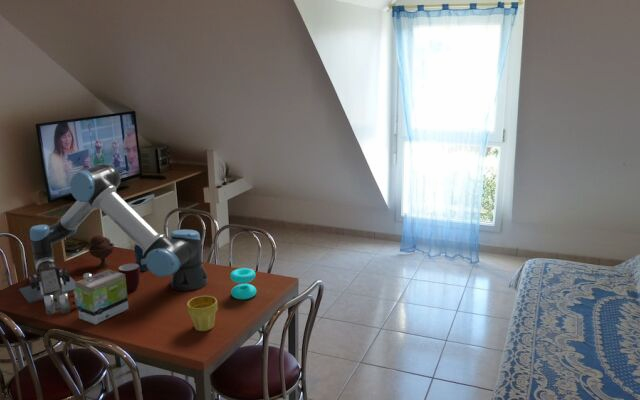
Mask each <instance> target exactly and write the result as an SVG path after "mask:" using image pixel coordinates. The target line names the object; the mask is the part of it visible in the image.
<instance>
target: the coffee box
mask: <svg viewBox="0 0 640 400" xmlns="http://www.w3.org/2000/svg"><path fill="white" fill-rule="evenodd" d="M38 266H39V272H40V278H41V283H42V287H43V292H44V294H43V296H44V295H46V294H53V298H54V305H55V310H57V309H60V303H59V296H58V295H59V294H60V293H62V287H61V280H60V275H61V274H60V273H59V271H60V268H59V267H60V266H59V265H58V264H57V262H56V261H55V260H54V262H49V263H45V264H40V265H38ZM43 302H44V301H43ZM44 304H45V302H44Z"/></svg>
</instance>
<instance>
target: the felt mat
mask: <svg viewBox="0 0 640 400" xmlns="http://www.w3.org/2000/svg"><path fill="white" fill-rule="evenodd" d="M69 277H70V282H67V281H66V285H64V290H63V291H62V293H64V292H65V293H72V292H74V290H75V289H76V285H75V282H76V281H75V279H73V277H71V276H70V275H69ZM18 291H19V292H20V294H21V295H22V296H23V297H24V299H26V301H27V303H29V304H32V303H36V302H40V301H44V296H43V295H42V294H41V290H37V288H34V289H31V285H27V286H24V287H20V288H19V289H18Z"/></svg>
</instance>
